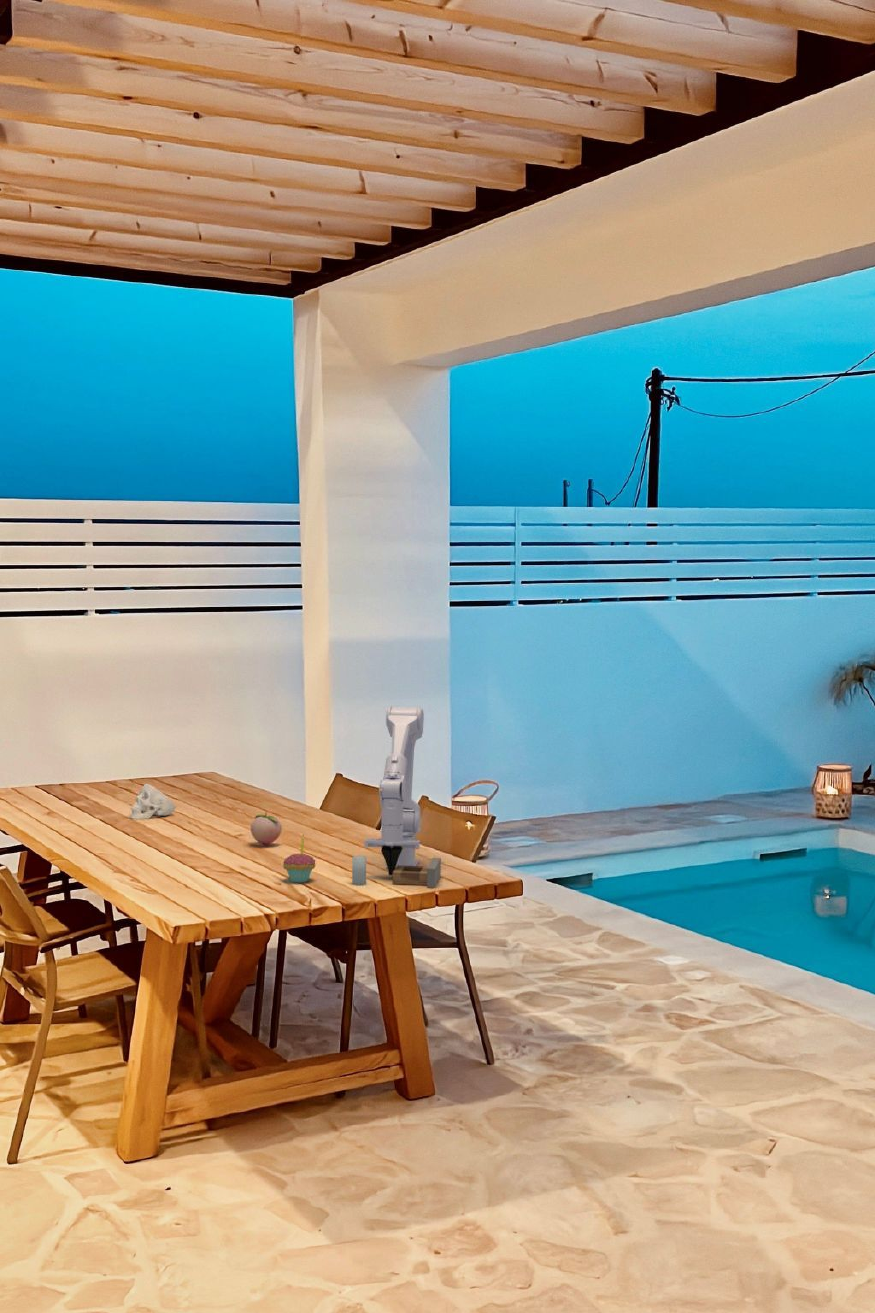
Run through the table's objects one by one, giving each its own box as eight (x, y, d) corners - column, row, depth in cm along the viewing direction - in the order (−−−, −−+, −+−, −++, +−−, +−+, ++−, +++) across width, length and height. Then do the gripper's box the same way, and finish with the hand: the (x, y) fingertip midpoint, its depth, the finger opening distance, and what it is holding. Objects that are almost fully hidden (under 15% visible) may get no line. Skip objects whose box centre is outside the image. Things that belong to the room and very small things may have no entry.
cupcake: (292, 876, 353) (293, 831, 352) (321, 879, 350) (321, 833, 349) (277, 882, 345) (277, 837, 344) (306, 885, 342) (306, 839, 341)
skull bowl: (119, 812, 439) (137, 780, 443) (152, 831, 447) (171, 799, 450) (131, 817, 431) (150, 783, 434) (165, 836, 438) (184, 803, 441)
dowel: (353, 882, 347) (353, 855, 346) (367, 882, 346) (367, 856, 346) (351, 885, 343) (351, 858, 343) (364, 885, 343) (365, 858, 342)
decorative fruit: (244, 846, 392) (244, 813, 391) (260, 842, 399) (260, 809, 398) (270, 849, 387) (270, 816, 387) (286, 845, 395) (286, 811, 394)
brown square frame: (397, 876, 353) (397, 865, 353) (431, 877, 352) (431, 866, 352) (392, 883, 344) (392, 872, 344) (427, 885, 343) (427, 873, 343)
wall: (433, 876, 354) (433, 857, 354) (440, 876, 354) (440, 857, 354) (426, 887, 341) (427, 868, 340) (434, 888, 340) (434, 868, 340)
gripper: (362, 825, 347) (362, 877, 348) (417, 827, 346) (416, 878, 346) (367, 821, 354) (366, 871, 355) (420, 822, 353) (420, 873, 353)
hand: (391, 874), depth 351 cm, fingers closed
